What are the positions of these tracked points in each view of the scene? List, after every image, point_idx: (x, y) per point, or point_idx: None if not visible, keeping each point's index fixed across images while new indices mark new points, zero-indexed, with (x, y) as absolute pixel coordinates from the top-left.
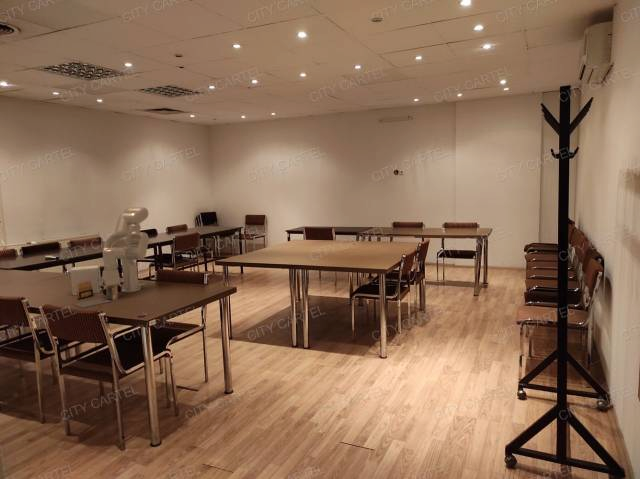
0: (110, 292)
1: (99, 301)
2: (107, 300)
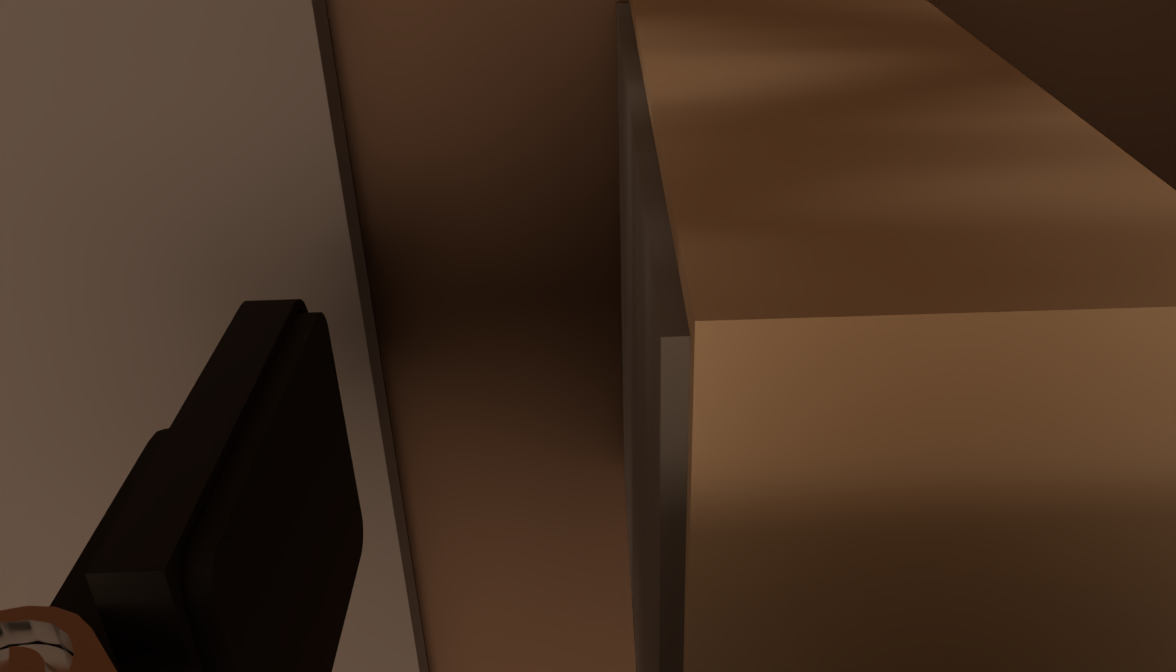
0: (638, 524)
1: (24, 485)
2: None
